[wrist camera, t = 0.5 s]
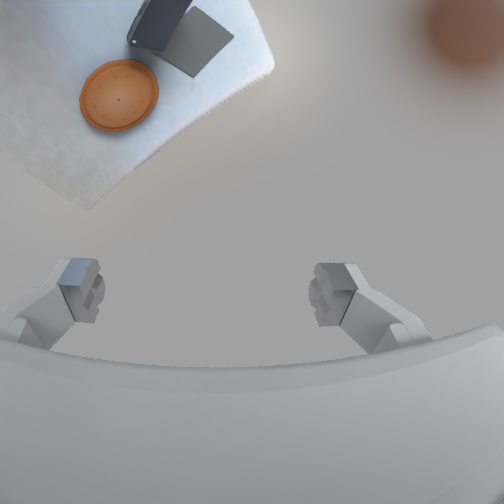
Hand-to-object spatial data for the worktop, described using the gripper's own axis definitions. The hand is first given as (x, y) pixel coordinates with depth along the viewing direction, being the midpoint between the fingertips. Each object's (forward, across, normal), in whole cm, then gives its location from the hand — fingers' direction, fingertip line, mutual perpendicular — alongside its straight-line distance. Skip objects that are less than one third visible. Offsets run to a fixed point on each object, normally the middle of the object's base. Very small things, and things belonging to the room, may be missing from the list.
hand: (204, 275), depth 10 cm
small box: (+43, +13, -22) cm, 50 cm away
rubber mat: (+48, +6, -16) cm, 51 cm away
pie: (+46, +20, -7) cm, 51 cm away
